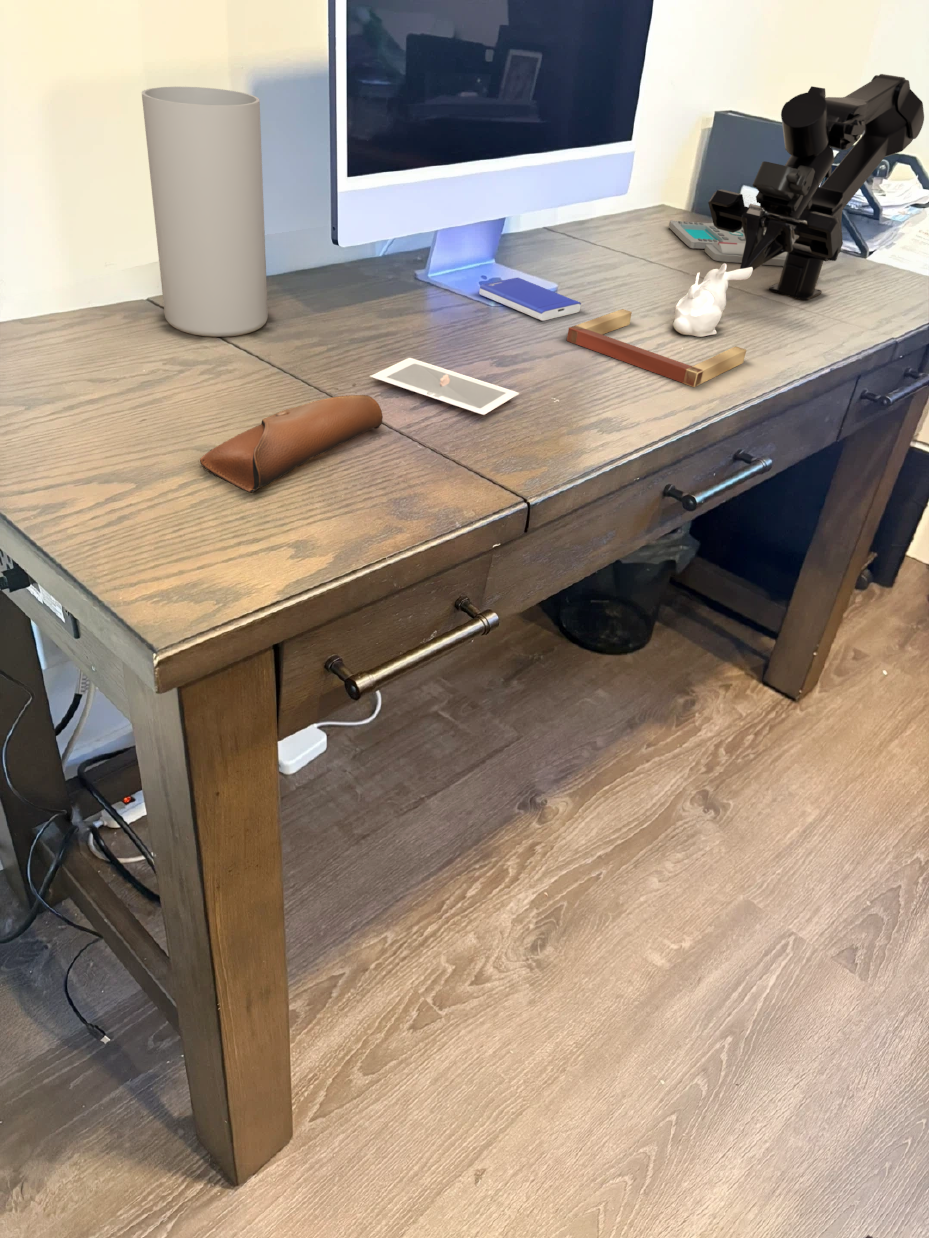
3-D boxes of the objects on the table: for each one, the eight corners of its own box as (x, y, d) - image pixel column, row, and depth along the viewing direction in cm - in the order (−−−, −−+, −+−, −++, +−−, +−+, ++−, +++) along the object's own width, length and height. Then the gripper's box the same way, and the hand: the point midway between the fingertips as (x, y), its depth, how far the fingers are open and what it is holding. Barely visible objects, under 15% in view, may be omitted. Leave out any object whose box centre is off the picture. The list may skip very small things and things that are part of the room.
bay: (620, 321, 130) (622, 308, 129) (743, 363, 121) (746, 349, 120) (566, 341, 122) (568, 327, 121) (694, 387, 113) (697, 373, 112)
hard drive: (479, 284, 133) (542, 310, 127) (519, 276, 138) (581, 301, 131) (478, 295, 134) (540, 322, 128) (518, 287, 139) (579, 312, 132)
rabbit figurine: (705, 315, 136) (721, 247, 130) (750, 331, 132) (769, 261, 126) (657, 330, 129) (672, 258, 123) (703, 347, 125) (721, 274, 119)
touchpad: (409, 366, 110) (409, 348, 109) (518, 402, 105) (520, 384, 103) (369, 385, 105) (369, 367, 103) (482, 424, 99) (484, 405, 98)
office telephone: (816, 253, 162) (706, 246, 159) (811, 269, 163) (703, 262, 160) (767, 218, 180) (668, 211, 177) (763, 232, 182) (665, 225, 179)
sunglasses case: (319, 404, 98) (345, 360, 93) (363, 452, 98) (392, 411, 93) (191, 462, 86) (214, 415, 81) (242, 518, 85) (268, 474, 81)
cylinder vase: (288, 327, 117) (282, 103, 103) (201, 346, 110) (182, 108, 95) (231, 299, 124) (218, 85, 109) (146, 315, 116) (119, 88, 102)
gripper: (731, 126, 130) (674, 219, 129) (860, 152, 120) (799, 253, 120) (742, 182, 139) (689, 269, 139) (862, 210, 130) (805, 303, 129)
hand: (742, 272), depth 131 cm, fingers closed
